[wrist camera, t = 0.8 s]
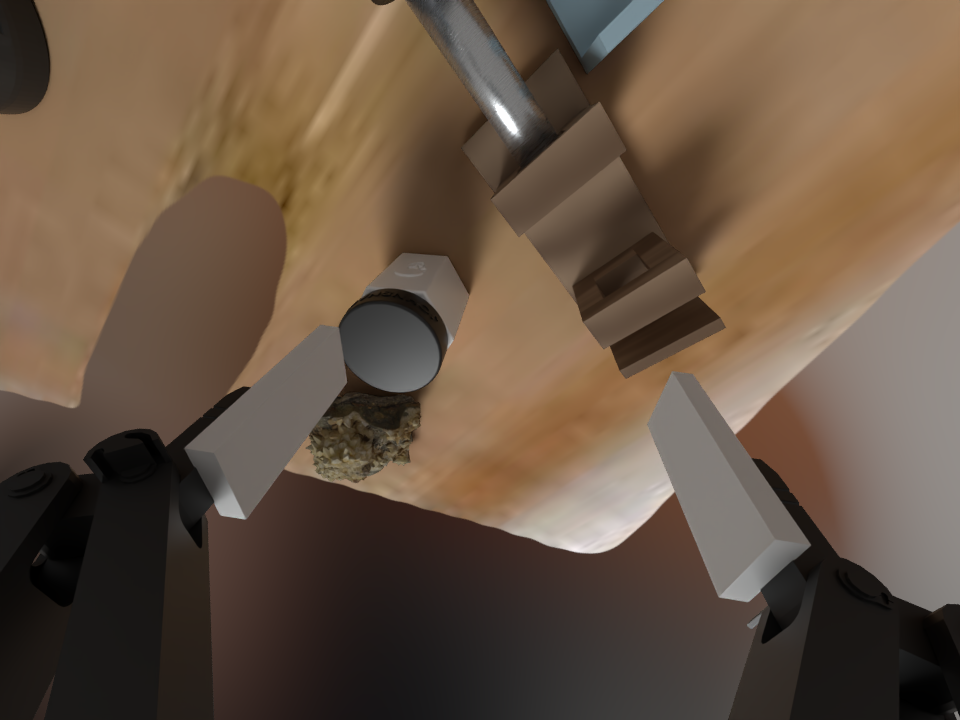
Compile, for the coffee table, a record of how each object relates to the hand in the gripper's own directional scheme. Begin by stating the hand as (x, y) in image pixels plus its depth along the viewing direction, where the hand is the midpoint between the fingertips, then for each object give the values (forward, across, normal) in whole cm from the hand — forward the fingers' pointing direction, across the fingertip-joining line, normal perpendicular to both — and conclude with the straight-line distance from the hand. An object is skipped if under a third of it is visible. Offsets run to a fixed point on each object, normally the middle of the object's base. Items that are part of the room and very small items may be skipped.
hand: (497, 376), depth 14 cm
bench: (+22, +6, +2) cm, 23 cm away
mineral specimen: (+22, -15, -26) cm, 37 cm away
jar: (+22, -8, -6) cm, 24 cm away
